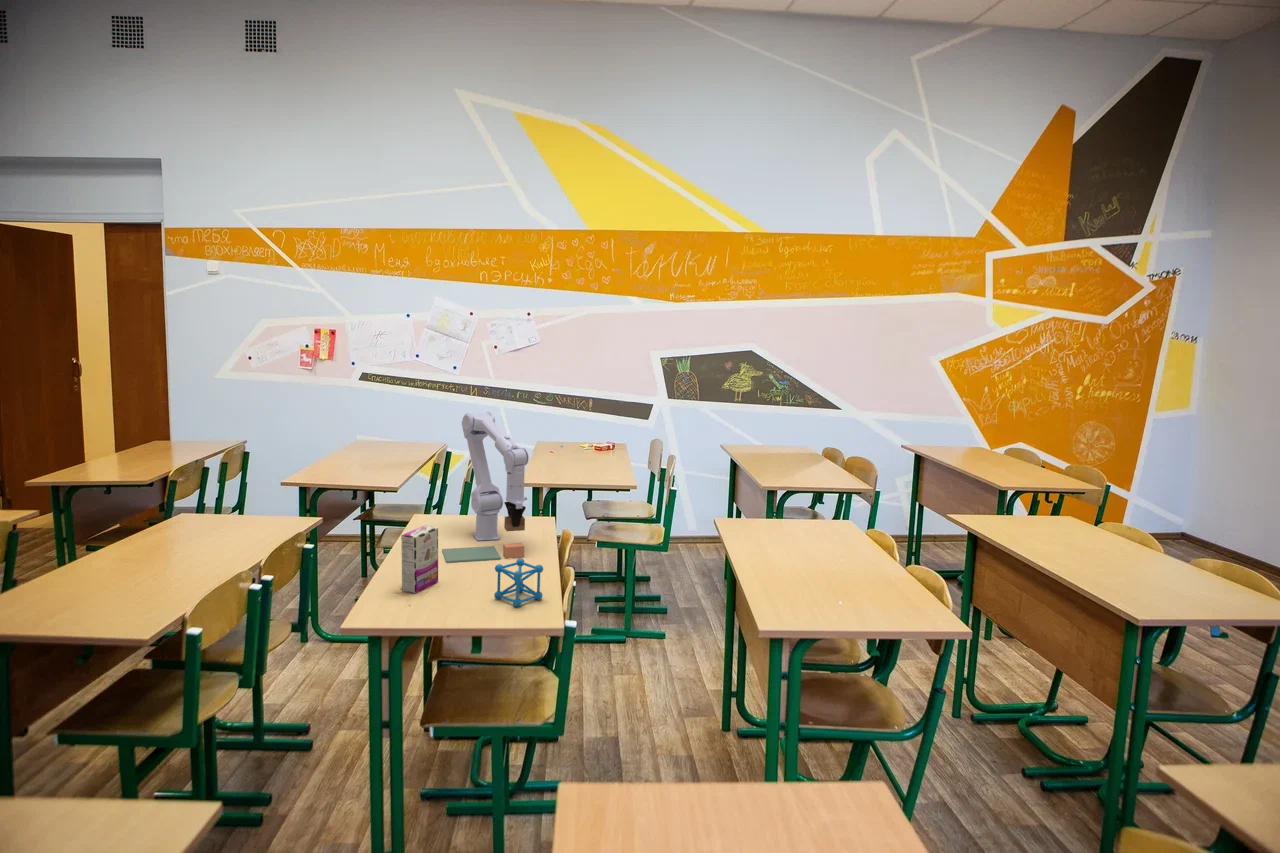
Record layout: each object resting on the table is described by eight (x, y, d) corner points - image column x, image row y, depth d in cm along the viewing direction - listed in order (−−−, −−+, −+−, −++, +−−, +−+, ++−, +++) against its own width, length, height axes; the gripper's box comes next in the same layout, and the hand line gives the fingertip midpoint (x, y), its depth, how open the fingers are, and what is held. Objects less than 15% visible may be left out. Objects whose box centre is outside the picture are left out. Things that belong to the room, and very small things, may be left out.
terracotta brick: (503, 555, 249) (503, 543, 248) (521, 554, 251) (521, 542, 250) (505, 559, 245) (505, 547, 244) (523, 558, 247) (524, 546, 247)
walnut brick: (504, 528, 255) (504, 516, 255) (522, 527, 258) (522, 515, 257) (506, 531, 252) (507, 519, 251) (524, 530, 254) (524, 518, 253)
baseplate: (442, 550, 250) (442, 549, 250) (494, 547, 256) (494, 545, 256) (446, 563, 238) (446, 561, 238) (501, 559, 244) (501, 557, 244)
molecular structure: (519, 590, 217) (520, 556, 216) (544, 599, 211) (545, 564, 210) (492, 599, 210) (493, 564, 208) (516, 609, 204) (517, 572, 202)
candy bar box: (424, 579, 223) (424, 524, 220) (438, 581, 221) (439, 527, 219) (400, 591, 212) (400, 534, 210) (415, 594, 211) (416, 536, 208)
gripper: (532, 489, 247) (531, 529, 249) (522, 479, 261) (521, 518, 262) (510, 490, 245) (509, 531, 247) (502, 480, 258) (501, 519, 260)
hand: (514, 524), depth 254 cm, fingers closed on walnut brick, 4 cm apart
